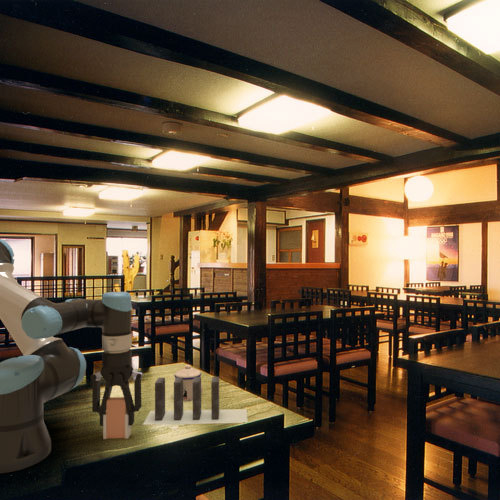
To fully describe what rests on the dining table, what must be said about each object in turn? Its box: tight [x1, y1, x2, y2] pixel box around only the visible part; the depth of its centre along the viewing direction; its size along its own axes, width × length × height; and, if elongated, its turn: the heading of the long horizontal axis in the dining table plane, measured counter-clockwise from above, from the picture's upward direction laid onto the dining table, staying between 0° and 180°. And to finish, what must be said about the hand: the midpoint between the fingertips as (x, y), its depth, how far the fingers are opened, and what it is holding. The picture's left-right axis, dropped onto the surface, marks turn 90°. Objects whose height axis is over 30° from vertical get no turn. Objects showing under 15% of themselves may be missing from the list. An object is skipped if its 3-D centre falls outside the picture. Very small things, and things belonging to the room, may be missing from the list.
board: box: [142, 408, 248, 426], centre depth 116 cm, size 30×10×1 cm, turn 92°
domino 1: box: [106, 396, 127, 439], centre depth 104 cm, size 2×5×11 cm, turn 91°
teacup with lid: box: [174, 364, 203, 402], centre depth 132 cm, size 12×9×12 cm
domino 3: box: [173, 377, 184, 420], centre depth 116 cm, size 2×5×11 cm, turn 2°
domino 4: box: [192, 376, 202, 420], centre depth 117 cm, size 2×5×11 cm, turn 1°
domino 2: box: [154, 377, 166, 421], centre depth 116 cm, size 2×5×11 cm, turn 1°
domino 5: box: [210, 376, 220, 420], centre depth 117 cm, size 2×5×11 cm, turn 1°
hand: (117, 437), depth 104 cm, fingers closed on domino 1, 5 cm apart
